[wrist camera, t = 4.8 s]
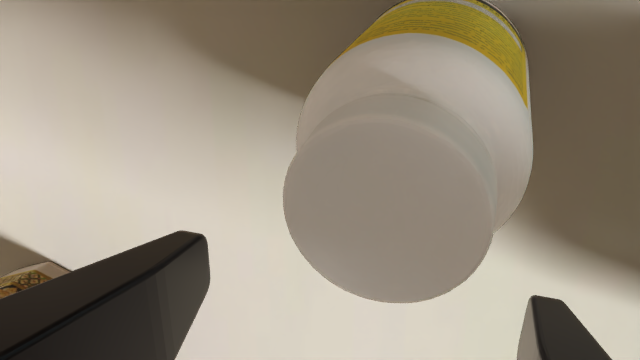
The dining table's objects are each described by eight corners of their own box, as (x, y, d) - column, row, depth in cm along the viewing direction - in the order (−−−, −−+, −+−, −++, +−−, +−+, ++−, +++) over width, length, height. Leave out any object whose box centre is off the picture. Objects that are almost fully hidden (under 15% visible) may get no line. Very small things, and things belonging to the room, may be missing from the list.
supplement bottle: (346, 4, 19) (214, 93, 10) (521, -29, 17) (531, 47, 9) (374, 155, 21) (284, 331, 12) (533, 141, 19) (552, 338, 11)
